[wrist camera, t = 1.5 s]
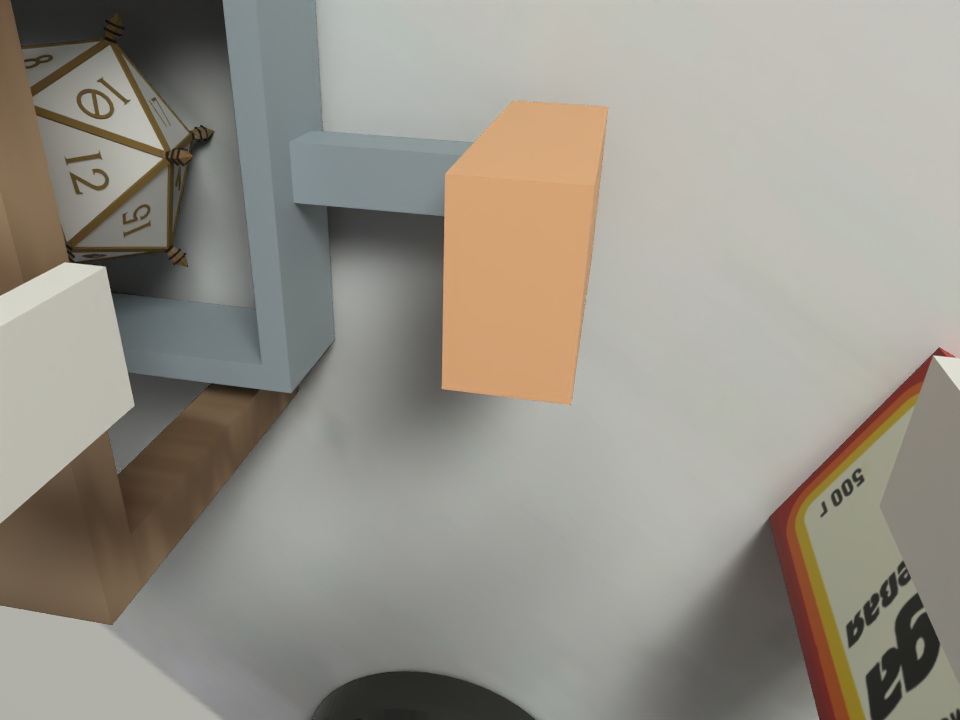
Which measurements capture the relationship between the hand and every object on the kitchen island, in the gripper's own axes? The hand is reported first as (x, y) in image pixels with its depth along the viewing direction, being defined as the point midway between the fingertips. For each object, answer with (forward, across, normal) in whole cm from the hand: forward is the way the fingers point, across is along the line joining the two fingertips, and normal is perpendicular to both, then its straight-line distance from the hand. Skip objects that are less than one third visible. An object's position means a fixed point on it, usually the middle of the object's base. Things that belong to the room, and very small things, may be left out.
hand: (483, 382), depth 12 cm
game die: (+16, +16, 0) cm, 23 cm away
